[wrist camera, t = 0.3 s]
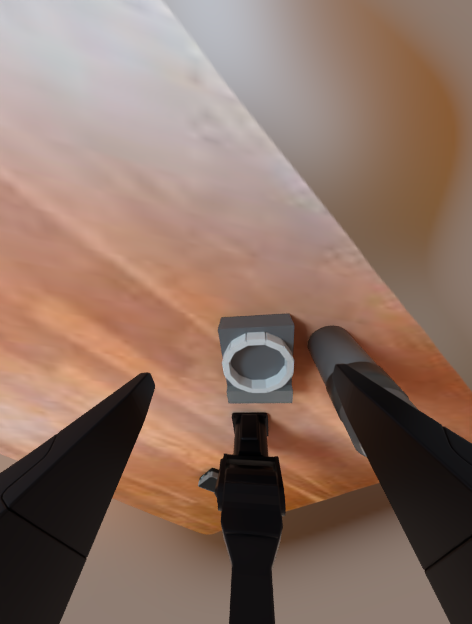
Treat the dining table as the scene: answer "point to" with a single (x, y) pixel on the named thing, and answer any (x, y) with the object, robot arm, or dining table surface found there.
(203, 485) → the external hard drive
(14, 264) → the dining table surface
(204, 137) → the dining table surface
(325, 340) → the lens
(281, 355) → the camera body
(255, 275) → the dining table surface
